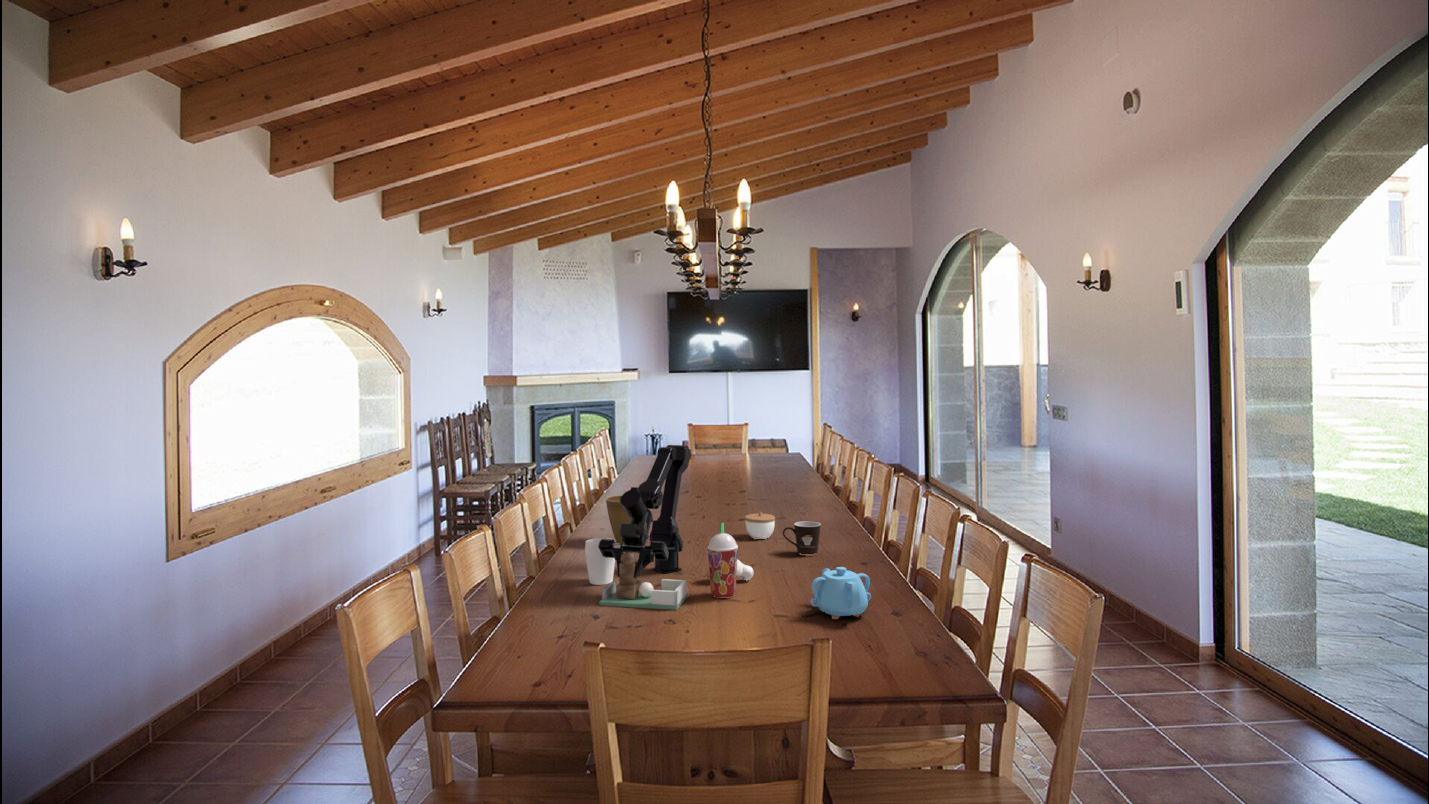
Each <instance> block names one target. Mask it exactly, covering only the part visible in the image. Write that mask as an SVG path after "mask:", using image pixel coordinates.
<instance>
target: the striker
mask: <svg viewBox="0 0 1429 804" xmlns="http://www.w3.org/2000/svg"><path fill="white" fill-rule="evenodd" d="M636 558H637V557H636V556H635V553H631V552H624V554H623V555H622V556H621V563H620V564H619V573H620V577H619V583H618V584H616V585H615V586H616V598H628V599H635V598H636V597H637V596H638V595H639V594H640V593H639V586H640V585H641V584H642V581H641V580H638V577H637V578H634V571H635V568H636V565H637V562H638V561H636Z"/></svg>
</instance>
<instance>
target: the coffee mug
mask: <svg viewBox="0 0 1429 804" xmlns="http://www.w3.org/2000/svg"><path fill="white" fill-rule="evenodd" d="M821 525H822V523H820V522H817V521H806V520H804V521H797V522H794V525H793V526H794V528H793V527H790V526H789V527H786V528H784V529H783V531H782V535H783V537H784V539H785V540H787V542H789V543H790V544H792V545H794V547H796V552H798V553H801V554H814V553H817V554H818V549H819V542H820V533H821ZM787 530H790V531H792V532H793V534H794V535H795V540H796V541H795V542H796V543H795V542H794V541H793V540H790V538H788V537H787V536H786V534H785V531H787ZM798 553H797V554H798Z"/></svg>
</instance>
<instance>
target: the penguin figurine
mask: <svg viewBox="0 0 1429 804" xmlns="http://www.w3.org/2000/svg"><path fill="white" fill-rule="evenodd" d="M737 577H741V578H742V579H743V581H744V580H746V582H748V581H747V580H749V581H750V580H751V578H752V577H754V569H753V568H752V566H751V565H747V564H744V563H742V562H741V561H740V560H739V559H738V558H737V572H736V578H737Z"/></svg>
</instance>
